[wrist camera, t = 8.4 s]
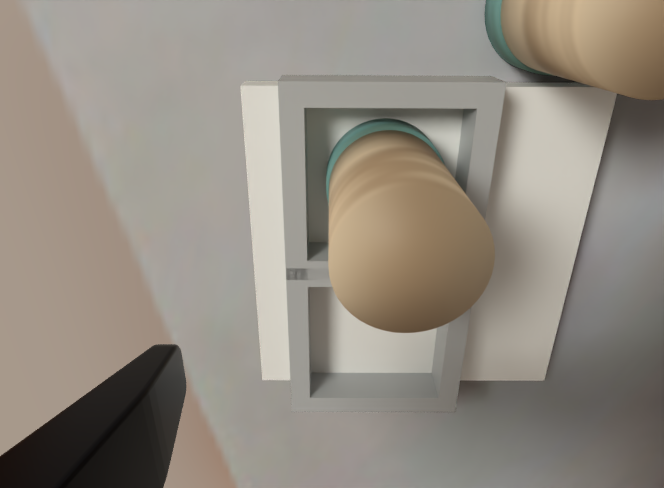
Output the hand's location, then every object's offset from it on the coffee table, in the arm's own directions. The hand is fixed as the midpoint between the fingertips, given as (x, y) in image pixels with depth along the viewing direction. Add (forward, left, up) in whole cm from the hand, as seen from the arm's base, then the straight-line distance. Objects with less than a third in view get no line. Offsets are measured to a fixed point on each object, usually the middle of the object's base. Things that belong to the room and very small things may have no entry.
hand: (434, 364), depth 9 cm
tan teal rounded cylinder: (0, 0, -11) cm, 11 cm away
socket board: (-2, +3, -12) cm, 12 cm away
